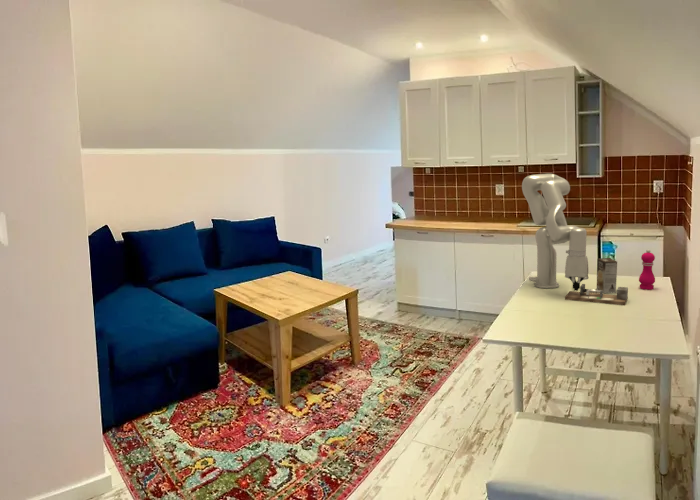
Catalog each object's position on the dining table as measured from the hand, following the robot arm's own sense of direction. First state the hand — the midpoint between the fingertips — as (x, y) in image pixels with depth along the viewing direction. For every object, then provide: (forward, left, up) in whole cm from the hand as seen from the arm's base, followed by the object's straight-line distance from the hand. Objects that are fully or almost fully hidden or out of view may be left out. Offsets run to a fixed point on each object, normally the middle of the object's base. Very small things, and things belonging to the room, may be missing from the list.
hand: (576, 290), depth 267 cm
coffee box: (+11, +16, -4) cm, 20 cm away
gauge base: (+9, -2, -3) cm, 10 cm away
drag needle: (+12, -6, -1) cm, 13 cm away
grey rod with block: (+7, -1, -1) cm, 7 cm away
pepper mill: (+28, +28, -4) cm, 40 cm away
